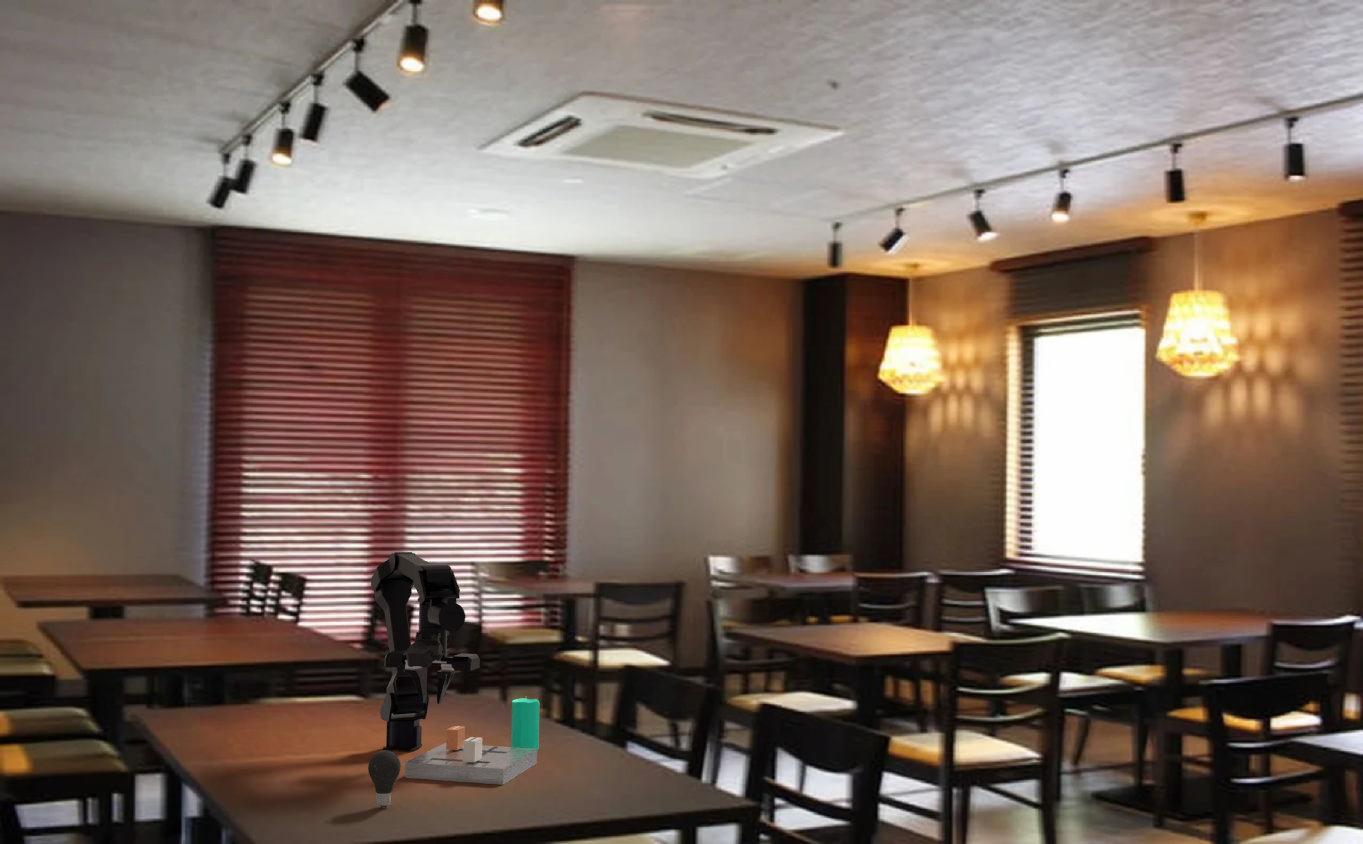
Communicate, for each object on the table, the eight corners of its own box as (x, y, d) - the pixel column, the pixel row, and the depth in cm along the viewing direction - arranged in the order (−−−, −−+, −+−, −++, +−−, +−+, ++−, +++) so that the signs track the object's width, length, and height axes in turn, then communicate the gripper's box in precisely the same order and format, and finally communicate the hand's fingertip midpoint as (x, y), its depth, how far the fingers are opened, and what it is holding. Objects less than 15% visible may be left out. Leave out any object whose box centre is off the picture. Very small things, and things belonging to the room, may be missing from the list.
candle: (534, 753, 298) (535, 696, 299) (506, 751, 300) (508, 694, 300) (542, 747, 304) (543, 691, 305) (515, 746, 306) (517, 690, 306)
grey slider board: (405, 778, 273) (405, 761, 273) (444, 757, 292) (445, 742, 292) (503, 784, 268) (503, 768, 268) (536, 763, 288) (536, 748, 288)
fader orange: (445, 763, 284) (446, 729, 284) (453, 759, 288) (454, 725, 288) (457, 764, 284) (457, 729, 284) (464, 760, 288) (465, 726, 288)
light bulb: (369, 804, 251) (370, 747, 252) (401, 803, 252) (402, 747, 252) (365, 811, 246) (366, 753, 246) (397, 811, 246) (399, 754, 247)
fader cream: (462, 776, 273) (463, 740, 273) (470, 771, 277) (470, 736, 277) (474, 776, 272) (475, 741, 272) (481, 772, 276) (482, 737, 276)
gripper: (373, 628, 282) (371, 707, 282) (461, 632, 278) (459, 712, 277) (396, 622, 293) (394, 698, 292) (481, 626, 289) (479, 703, 288)
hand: (431, 703), depth 287 cm, fingers open, 3 cm apart
